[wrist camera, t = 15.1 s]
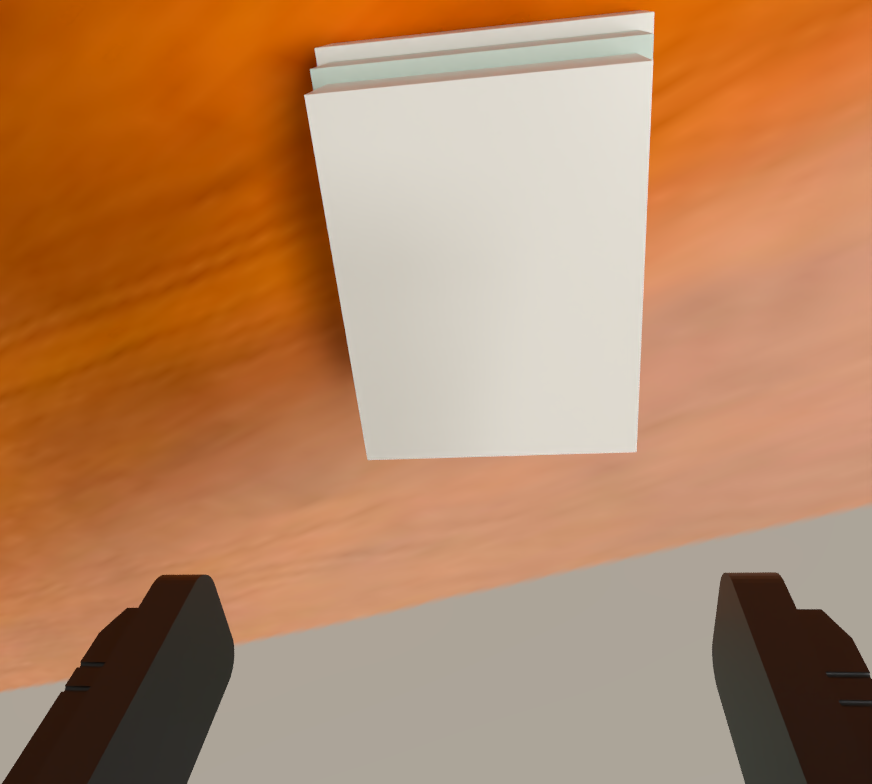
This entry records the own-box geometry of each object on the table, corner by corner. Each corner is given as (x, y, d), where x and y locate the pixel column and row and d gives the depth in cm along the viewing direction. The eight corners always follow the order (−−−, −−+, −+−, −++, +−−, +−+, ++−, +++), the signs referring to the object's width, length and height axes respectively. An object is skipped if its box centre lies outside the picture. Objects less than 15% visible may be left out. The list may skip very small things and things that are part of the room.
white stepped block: (332, 43, 28) (264, 61, 21) (640, 10, 27) (693, 15, 19) (382, 375, 36) (346, 481, 28) (628, 364, 34) (663, 473, 26)
